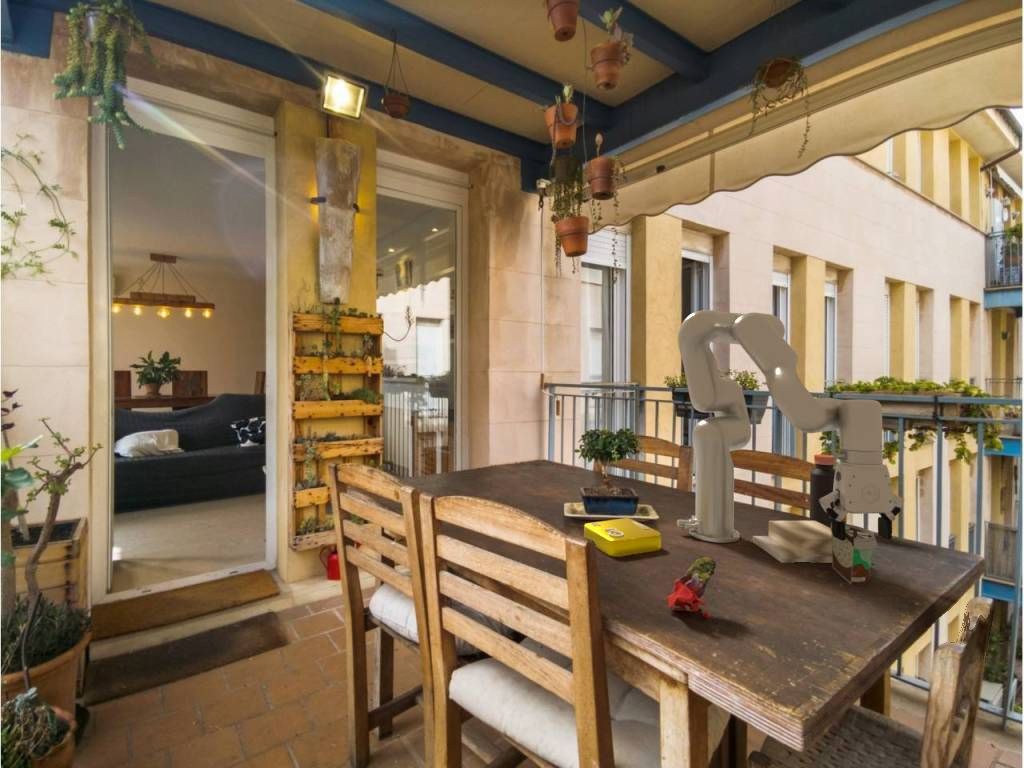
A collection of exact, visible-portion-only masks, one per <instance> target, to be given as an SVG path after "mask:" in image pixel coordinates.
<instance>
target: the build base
mask: <svg viewBox="0 0 1024 768" xmlns="http://www.w3.org/2000/svg"><path fill="white" fill-rule="evenodd" d="M752 543H753V544H755V546H756V545H757V546H758V547H759V548H761V549H762V550H763V551H765V552H766V553H768V554H769V555H770V556H771V557H773V558H774V559H775V560H777V561H779V563H783V564H787V563H788V564H790V563H791V564H794V562H811V563H810V564H812V563H816V562H817V563H819V564H821V563H824V564H826V563H827V564H828V563H832V533H831V531H830V528H829V527H827V526H825V525H823V524H821V523H819V522H817V521H809V520H768V535H753V536H752ZM817 563H816V564H817Z"/></svg>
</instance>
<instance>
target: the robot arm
mask: <svg viewBox="0 0 1024 768" xmlns="http://www.w3.org/2000/svg"><path fill="white" fill-rule="evenodd" d="M785 329H786V328H785V325H784V323H783V321H782V320H781V319H780V318H778V316H776V315H773V314H769V313H762V312H747V313H738V312H729V311H728V312H727V311H720V310H719V311H718V310H713V309H712V310H711V309H704V310H703V309H702V310H697V311H695V312H692V313H691V314H689V315H688V316H687V317H686V318H685V319H684V320H683V322H682V323H681V325H680V328H679V329H678V335H677V345H678V349H679V350H678V351H679V354H680V357H681V361H682V364H683V369H684V375H685V380H686V385H687V389H688V395H689V399H690V402H691V405H692V407H693V408H694V409H695V410H696V411H698V412H700V413H713V414H714V416H711V417H708V418H704V419H701V420H700V421H698V422H697V424H696V425H695V426H694V428H693V431H692V435H691V436H692V437H691V439H692V446H693V451H694V457H695V458H694V460H695V506H694V507H695V510H694V511H695V515H694V514H693V515H691V518H688V519H677V520H676V525H677V528H684V529H686V530H688V533H689V535H690V536H692V537H694V538H696V539H698V540H701V541H705V542H710V543H719V544H720V543H722V544H728V543H733V542H737V541H739V540H740V538H741V535H740V532H739V531H738V530H736V529H735V528H734V527H735V526H734V517H735V516H734V515H735V513H734V512H735V509H734V508H735V468H734V462H733V459H732V456H731V452H733V451H738V450H741V449H744V448H745V447H747V445H748V444H749V443H750V441H751V438H752V428H751V427H752V426H751V421H750V417H749V412H748V408H747V403H746V399H745V396H744V392H743V389H742V387H741V386H740V384H738V383H739V382H736V381H735V380H734V379H732V378H730V377H727V376H724V377H723V376H721V374H720V371H719V366H718V361H717V358H716V356H715V354H714V352H713V351H712V349H711V348H710V344H711V343H714V344H715V343H717V344H729V345H740V346H741V348H742V349H743V350H744V351H745V353H746V354H747V355H748V357H750V359H751V360H752V362H753V363H754V364H755V366H757V368H758V369H759V370H760V372H761V373H762V374H763V376H764V378H765V382H766V383H765V384H766V386H767V389H768V392H769V395H770V397H771V399H772V402H774V404H775V406H776V407H777V408H778V410H779V411H780V412H781V414H782V415H783V416H784V417H785V418H786V420H787V421H788V422H789V424H791V425H792V426H793V427H794V428H795V429H797V430H798V431H800V432H803V433H805V434H815V433H822V432H823V433H824V432H832V431H839V434H838V435H839V451H838V452H835V453H834V455H833V456H834V457H835V460H839V462H837V463H836V467H835V470H834V471H835V477H834V486H833V492H832V493H830V494H828V495H826V496H824V497H822V498H820V499H819V502H820V504H821V506H822V508H823V510H824V512H825V513H826V514H827V515H828V516H829V517H830V518H832V533H833V536H834V537H835V538H837V539H839V540H841V541H844V540H845V539H846V537H845V524H846V522H845V521H843V520H844V518H846V516H847V515H848V514H849V513H850V514H852V515H853V514H854V515H855V514H857V515H859V514H860V515H861V514H863V515H865V514H866V515H867V514H879V516H878V517H877V536H878V537H881V538H883V539H886V540H893V521H895V520H896V517H897V515H898V514H899V513H901V508H902V506H903V504H904V503H905V499H904V498H903V497H901V496H899V495H897V494H895V493H893V487H892V486H893V485H892V481H891V475H890V471H889V468H888V466H887V465H888V464H884V463H883V462H884V455H883V450H884V449H883V407H882V404H881V403H880V401H878V400H874V399H857V398H856V399H839V398H832V397H814V396H813V395H812V394H811V392H810V391H809V390H808V389H807V388H806V386H805V385H804V384H803V382H802V381H801V379H800V377H799V376H798V372H797V365H798V362H799V355H798V354H797V352H796V351H795V350H794V349H793V347H792V346H791V345H790V344H789V343H788V342H787V341H786V340H785V339H784V337H785V334H786V332H785ZM831 502H834V506H835V507H834V509H832V508H831V506H830V503H831Z"/></svg>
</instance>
